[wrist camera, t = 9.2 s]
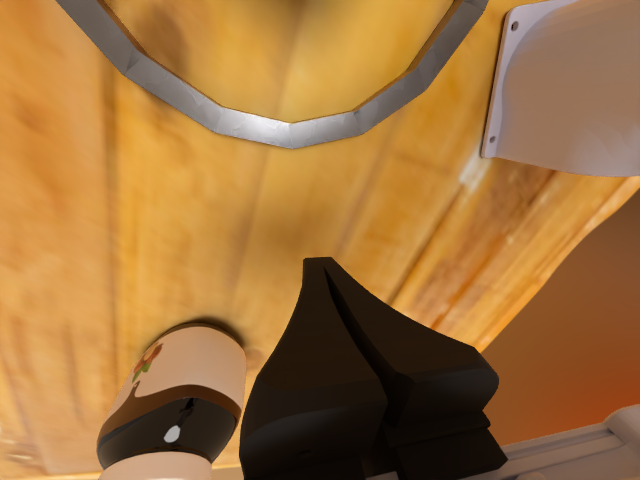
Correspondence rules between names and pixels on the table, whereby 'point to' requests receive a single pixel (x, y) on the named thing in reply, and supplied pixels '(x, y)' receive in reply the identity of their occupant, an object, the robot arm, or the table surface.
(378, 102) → the centring ring
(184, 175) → the table surface
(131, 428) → the spread jar
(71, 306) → the table surface
